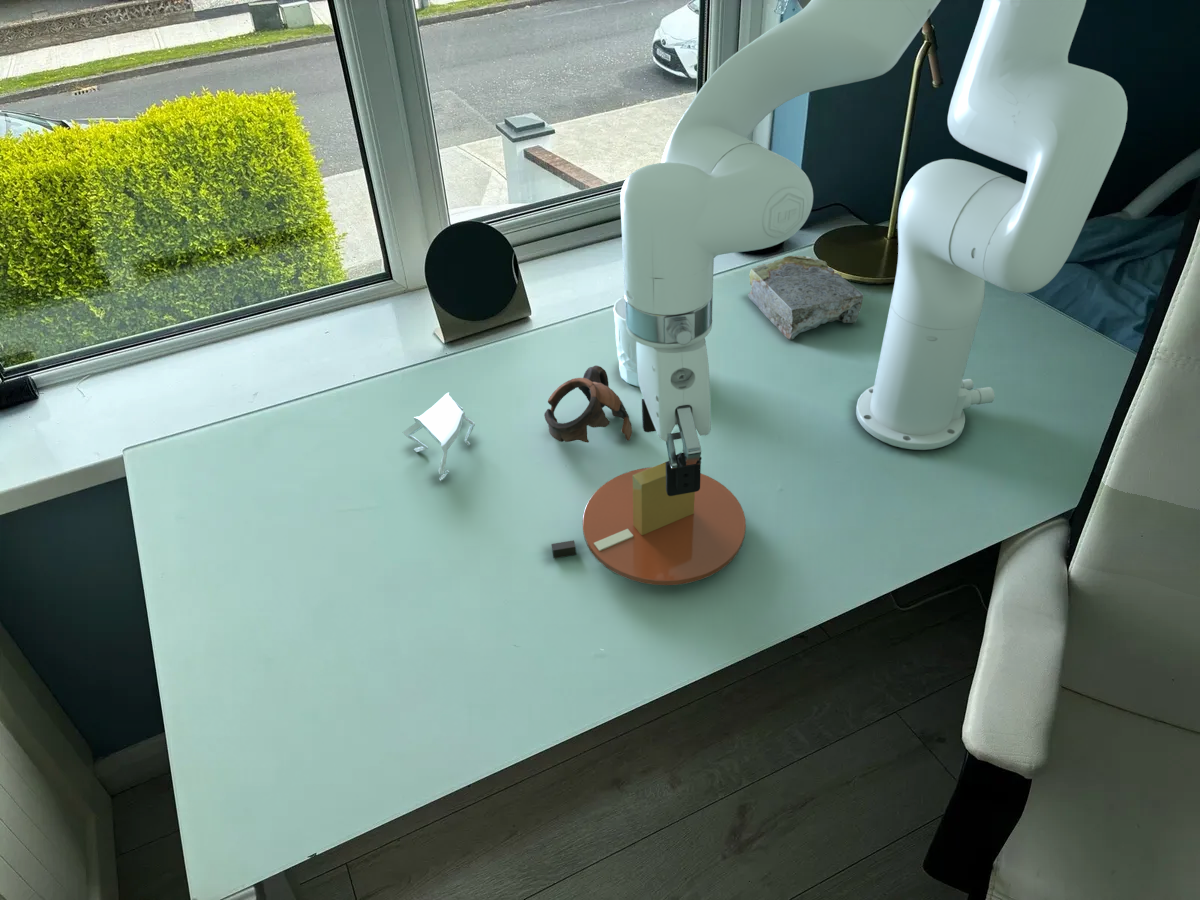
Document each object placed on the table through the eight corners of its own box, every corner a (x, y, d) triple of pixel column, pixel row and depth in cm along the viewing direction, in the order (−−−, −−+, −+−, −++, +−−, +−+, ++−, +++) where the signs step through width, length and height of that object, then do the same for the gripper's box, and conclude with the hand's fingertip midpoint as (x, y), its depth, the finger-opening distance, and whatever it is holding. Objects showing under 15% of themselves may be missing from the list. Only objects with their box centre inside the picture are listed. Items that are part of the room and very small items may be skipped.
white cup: (685, 366, 120) (687, 300, 113) (656, 397, 115) (656, 330, 108) (634, 350, 123) (634, 285, 117) (603, 379, 118) (601, 313, 112)
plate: (778, 544, 92) (786, 488, 87) (635, 610, 86) (634, 554, 81) (687, 452, 103) (689, 398, 98) (555, 504, 97) (550, 450, 92)
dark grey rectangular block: (696, 498, 100) (696, 487, 99) (722, 563, 92) (723, 552, 91) (545, 522, 98) (544, 511, 97) (560, 590, 90) (559, 579, 89)
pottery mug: (636, 459, 106) (601, 421, 100) (568, 478, 110) (531, 442, 105) (640, 380, 113) (607, 341, 107) (576, 401, 117) (541, 363, 112)
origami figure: (401, 434, 111) (394, 402, 107) (467, 418, 113) (462, 386, 109) (420, 495, 102) (413, 462, 99) (491, 477, 104) (487, 444, 101)
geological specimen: (796, 313, 119) (743, 259, 130) (792, 350, 124) (740, 295, 134) (866, 294, 122) (808, 242, 132) (859, 331, 126) (804, 278, 137)
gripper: (741, 359, 72) (733, 512, 83) (684, 257, 85) (684, 401, 96) (649, 374, 71) (653, 526, 82) (606, 269, 84) (615, 412, 95)
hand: (670, 458), depth 89 cm, fingers open, 9 cm apart
